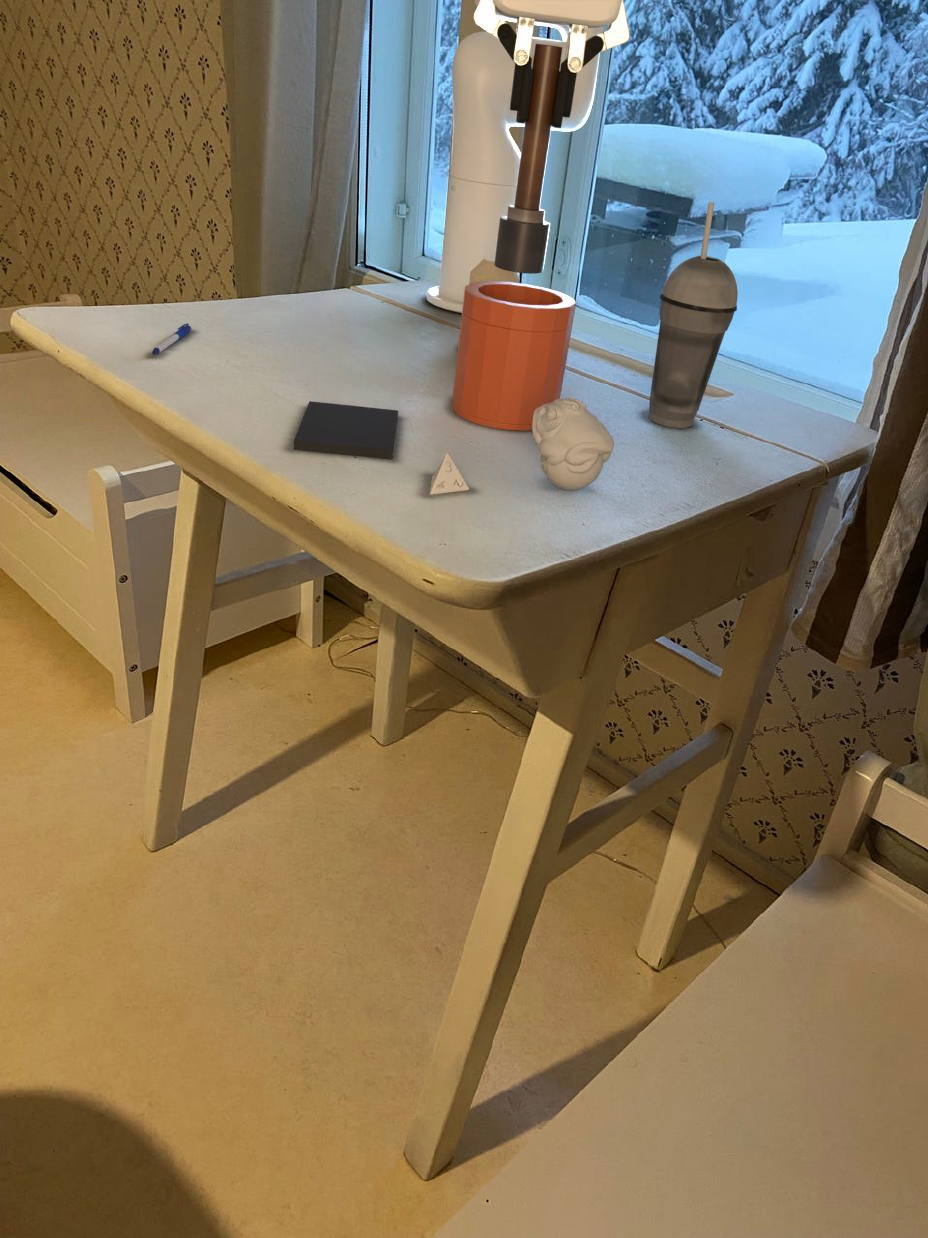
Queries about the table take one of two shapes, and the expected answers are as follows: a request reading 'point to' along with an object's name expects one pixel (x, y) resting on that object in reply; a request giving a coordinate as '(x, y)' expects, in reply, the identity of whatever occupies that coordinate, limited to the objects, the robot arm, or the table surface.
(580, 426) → the frog figurine
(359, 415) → the mat
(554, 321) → the jar
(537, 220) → the brush
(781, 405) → the table surface
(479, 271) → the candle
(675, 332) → the beverage cup
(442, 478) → the tetrahedral die
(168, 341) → the blue and white marker
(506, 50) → the robot arm
